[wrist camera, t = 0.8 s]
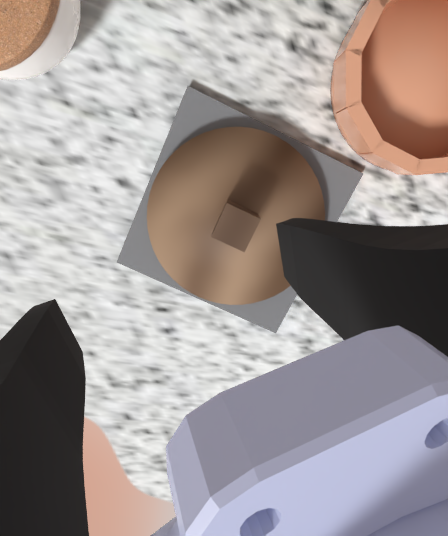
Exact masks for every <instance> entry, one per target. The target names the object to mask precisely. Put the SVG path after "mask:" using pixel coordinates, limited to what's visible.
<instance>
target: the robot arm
mask: <svg viewBox="0 0 448 536" xmlns="http://www.w3.org/2000/svg"><path fill="white" fill-rule="evenodd" d="M276 227H277V234H278V240H279V246H280V253H281V259H282V266H283V272H284V277H285V278H286V280H287V281H288V283H289V284H290V285H291V287H292V288H293V289H294V291H295V292H296V293H297V294H298V296H299V297H300V298H301V299H302V300H303V301H304V302H305V303H306V304H307V305H308V306H309V307H310V308H311V309H312V310H313V311H314V312H315V313H317V314H318V315H319V316H320V317H321V318H322V319H323V320H324V321H325V322H326V323H327V324H328V325H329V326H330V327H331V328H332V329H333V330H334V331H335V332H337V333H338V334H339V335H340V336H341V337H342V338H343V339H344V341H342V342H340V343H337V344H335V345H332V346H330V347H328V348H325V349H323V350H320V351H318V352H316V353H313V354H311V355H309V356H306V357H304V358H301V359H299V360H297V361H294V362H292V363H290V364H287V365H285V366H282V367H280V368H278V369H275V370H273V371H271V372H268V373H266V374H263V375H261V376H259V377H256V378H254V379H252V380H249V381H247V382H244V383H242V384H240V385H237V386H235V387H233V388H230V389H228V390H225V391H223V392H221V393H219V394H217V395H216V396H214V397H213V398H211V399H210V400H208V401H207V402H205V403H204V404H202V405H201V406H199V407H198V408H196V409H195V410H193V411H192V412H190V413H189V414H187V415H186V416H185V418H184V419H183V421H182V422H181V424H180V426H179V427H178V429H177V430H176V432H175V433H174V435H173V436H172V438H171V440H170V441H169V443H168V444H167V446H166V453H167V475H168V480H169V484H170V489H171V494H172V499H173V504H174V508H175V513H176V517H174V518H173V519H172V520H171V521H169V522H168V523H167V524H165V525H164V526H163V527H161V528H160V529H159V530H157V531H156V532H155V533H153V534H152V535H151V536H448V224H447V225H433V226H411V227H409V226H372V225H359V224H349V223H341V222H332V221H325V220H317V219H307V218H292V219H289V220H286V221H283V222H280V223H277V224H276ZM85 381H86V378H85V368H84V360H83V352H82V350H81V348H80V346H79V344H78V342H77V340H76V338H75V336H74V334H73V333H72V331H71V329H70V327H69V325H68V323H67V321H66V319H65V317H64V315H63V313H62V311H61V309H60V308H59V306H58V304H57V302H56V300H55V299H54V300H51V301H48V302H45V303H42V304H39V305H36V306H34V307H33V308H31V309H30V310H29V311H28V312H27V313H26V314H25V315H24V316H23V317H22V318H21V319H20V320H19V321H18V322H17V323H16V324H15V325H14V326H13V327H12V328H11V330H10V331H9V332H8V333H7V334H6V335H5V336H4V337H3V338H2V339H1V340H0V536H89V532H88V522H87V510H86V500H85V487H84V473H83V447H82V446H83V426H84V406H85Z"/></svg>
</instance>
